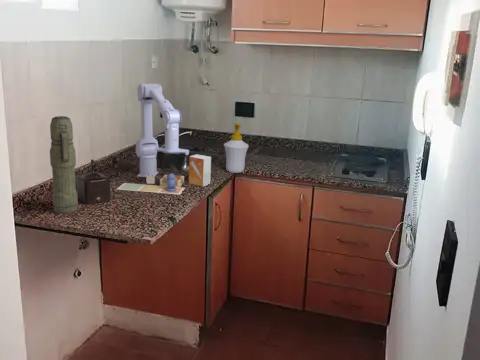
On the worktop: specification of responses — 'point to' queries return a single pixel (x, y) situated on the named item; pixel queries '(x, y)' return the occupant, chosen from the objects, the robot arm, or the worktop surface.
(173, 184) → the pawn
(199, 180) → the small box
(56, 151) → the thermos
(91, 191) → the dark brown coffee grinder
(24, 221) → the worktop surface
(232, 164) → the soap bottle
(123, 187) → the game mat
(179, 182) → the frame
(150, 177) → the ivory die
